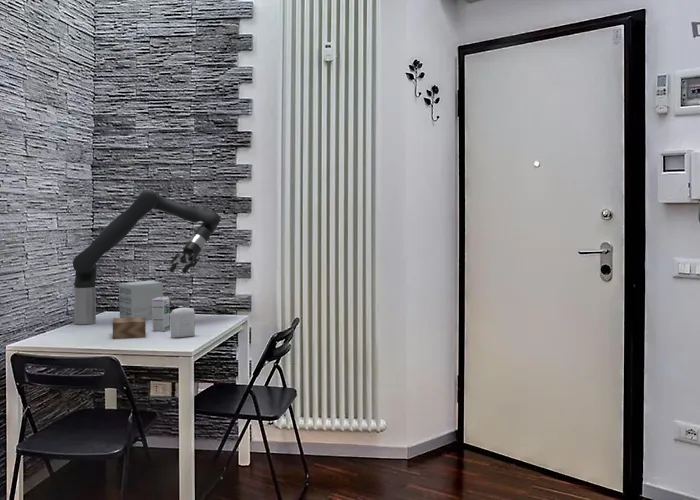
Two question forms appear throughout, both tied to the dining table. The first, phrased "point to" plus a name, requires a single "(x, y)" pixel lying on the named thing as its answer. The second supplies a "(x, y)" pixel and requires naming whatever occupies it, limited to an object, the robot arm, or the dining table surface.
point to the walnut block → (129, 328)
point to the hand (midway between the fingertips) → (177, 271)
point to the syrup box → (161, 313)
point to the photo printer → (182, 322)
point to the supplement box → (138, 298)
